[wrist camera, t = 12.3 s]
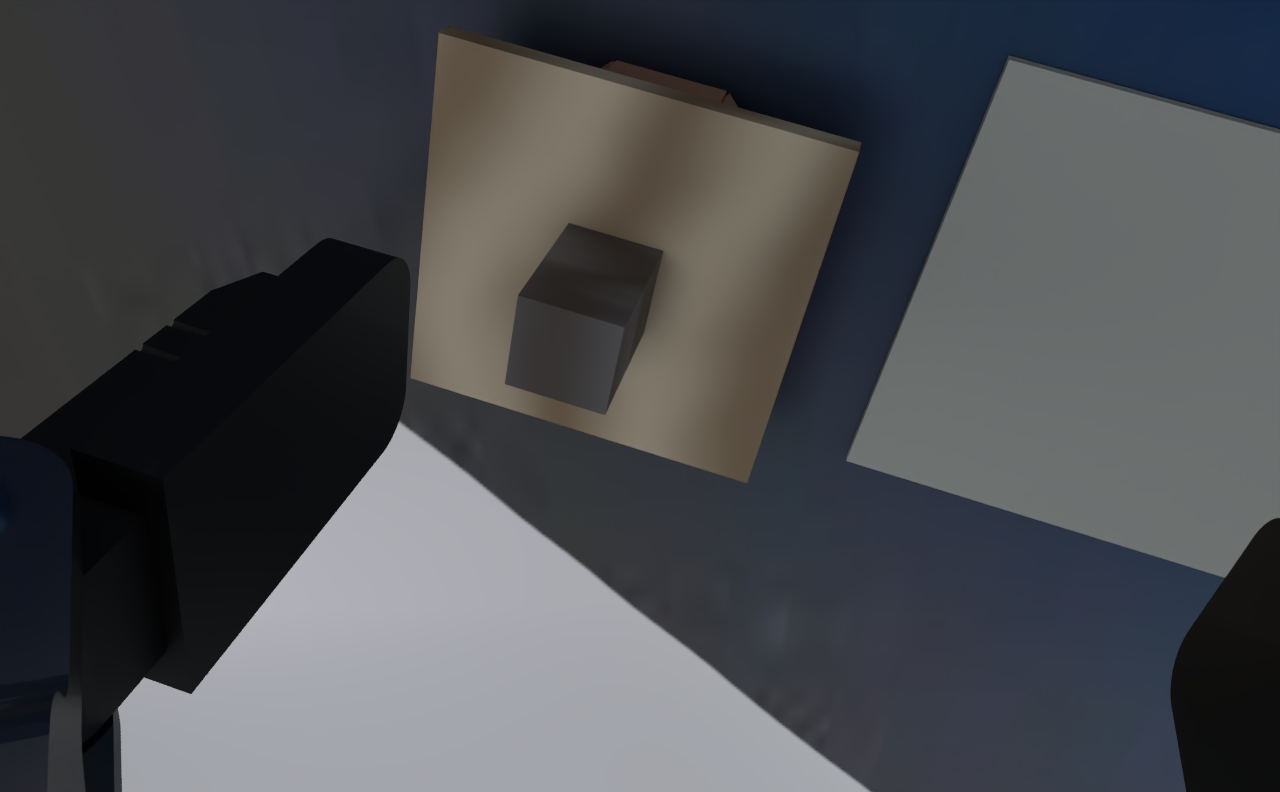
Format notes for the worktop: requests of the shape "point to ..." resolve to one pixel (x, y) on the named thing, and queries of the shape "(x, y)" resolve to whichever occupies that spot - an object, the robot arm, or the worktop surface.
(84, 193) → the worktop surface
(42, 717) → the robot arm
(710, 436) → the lid
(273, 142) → the worktop surface
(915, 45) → the worktop surface
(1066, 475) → the mat
